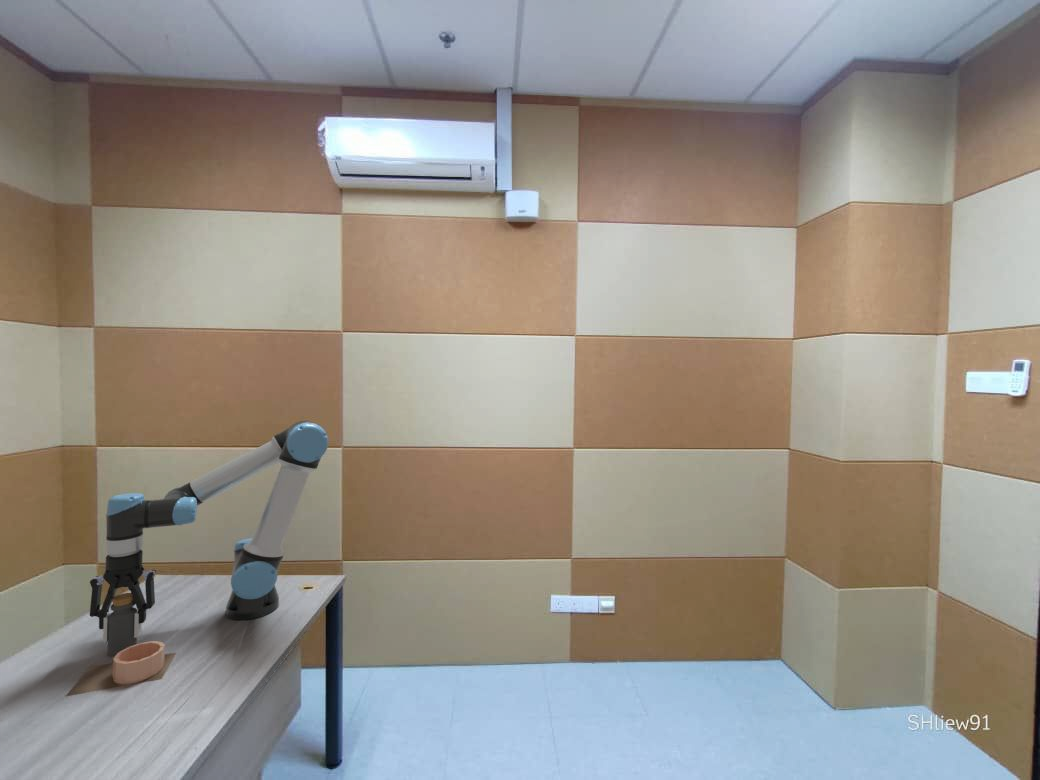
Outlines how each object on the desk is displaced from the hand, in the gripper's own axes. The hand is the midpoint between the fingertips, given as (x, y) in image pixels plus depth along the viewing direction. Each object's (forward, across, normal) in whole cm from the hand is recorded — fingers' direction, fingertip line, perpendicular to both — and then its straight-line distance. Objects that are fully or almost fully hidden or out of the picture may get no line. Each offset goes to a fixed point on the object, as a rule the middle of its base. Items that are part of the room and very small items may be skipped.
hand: (122, 637), depth 122 cm
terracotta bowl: (+4, -8, +13) cm, 16 cm away
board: (+5, -5, +12) cm, 14 cm away
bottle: (+4, 0, 0) cm, 4 cm away
